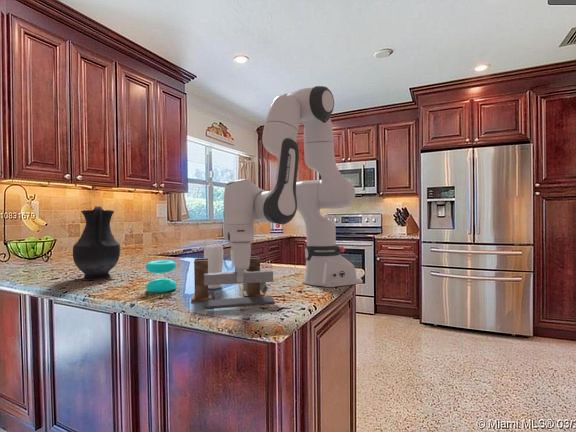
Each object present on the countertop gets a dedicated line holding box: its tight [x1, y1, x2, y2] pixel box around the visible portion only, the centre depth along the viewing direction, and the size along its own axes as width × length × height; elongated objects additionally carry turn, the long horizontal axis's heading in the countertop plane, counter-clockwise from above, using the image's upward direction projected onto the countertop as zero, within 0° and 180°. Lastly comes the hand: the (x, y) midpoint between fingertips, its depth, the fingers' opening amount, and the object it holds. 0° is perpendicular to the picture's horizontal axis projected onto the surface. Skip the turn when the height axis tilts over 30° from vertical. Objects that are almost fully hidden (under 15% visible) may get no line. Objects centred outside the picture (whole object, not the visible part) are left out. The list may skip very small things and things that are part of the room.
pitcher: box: [72, 205, 121, 281], centre depth 139 cm, size 17×21×30 cm
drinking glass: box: [203, 244, 224, 290], centre depth 120 cm, size 7×7×15 cm
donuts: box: [145, 259, 177, 294], centre depth 117 cm, size 10×10×10 cm
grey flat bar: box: [204, 295, 276, 310], centre depth 99 cm, size 20×7×1 cm, turn 103°
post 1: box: [190, 257, 213, 303], centre depth 104 cm, size 6×6×12 cm
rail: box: [204, 269, 274, 286], centre depth 99 cm, size 20×3×3 cm, turn 104°
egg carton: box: [241, 282, 267, 292], centre depth 118 cm, size 11×8×4 cm
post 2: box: [242, 255, 265, 298], centre depth 107 cm, size 6×6×12 cm
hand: (239, 280), depth 99 cm, fingers closed on rail, 3 cm apart
